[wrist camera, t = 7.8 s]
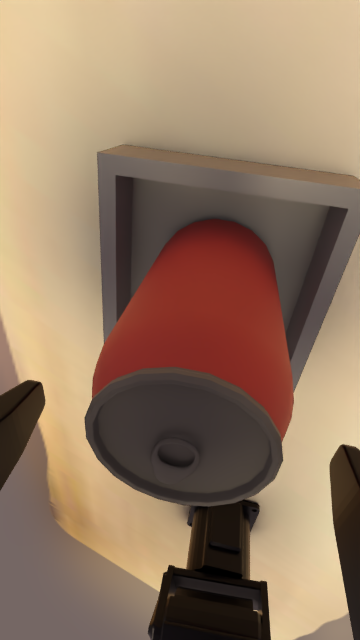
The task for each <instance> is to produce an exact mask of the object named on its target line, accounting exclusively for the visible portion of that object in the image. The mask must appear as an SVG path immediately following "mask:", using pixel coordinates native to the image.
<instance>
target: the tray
mask: <svg viewBox="0 0 360 640" xmlns="http://www.w3.org/2000/svg"><path fill="white" fill-rule="evenodd" d="M97 161H98V189H99V217H100V245H101V273H102V302H103V330H104V343H105V341H106V339H107V338H108V336H109V335H110V333H111V331H112V330H113V328H114V326H115V325H116V323H117V322H118V320H119V318H120V317H121V315H122V314H123V312H124V310H125V309H126V307H127V305H128V304H129V302H130V301H131V299H132V297H133V296H134V294H135V292H136V291H137V289H138V288H139V286H140V284H141V283H142V281H143V280H144V278H145V276H146V275H147V273H148V271H149V270H150V268H151V267H152V265H153V263H154V262H155V260H156V258H157V257H158V255H159V254H160V252H161V250H162V249H163V247H164V246H165V244H166V243H167V242H168V241H169V240H170V239H171V238H172V237H173V235H174V234H175V233H176V232H177V231H179V230H181V229H182V228H184V227H186V226H188V225H190V224H192V223H194V222H198V221H204V220H210V219H219V220H226V221H233V222H236V223H238V224H240V225H242V226H244V227H246V228H248V229H250V230H252V231H253V232H254V233H255V234H256V235H257V236H258V237H259V238H260V239H261V240H262V241H263V242H264V243H265V244H266V246H267V249H268V251H269V253H270V255H271V257H272V259H273V262H274V268H275V274H276V280H277V286H278V292H279V298H280V304H281V311H282V317H283V323H284V329H285V335H286V341H287V347H288V353H289V359H290V365H291V371H292V378H293V393H294V390H295V388H296V385H297V383H298V381H299V378H300V376H301V373H302V371H303V369H304V366H305V364H306V361H307V359H308V357H309V354H310V352H311V349H312V347H313V345H314V342H315V340H316V337H317V335H318V332H319V330H320V328H321V325H322V323H323V320H324V318H325V316H326V313H327V311H328V308H329V306H330V304H331V301H332V299H333V296H334V294H335V292H336V289H337V287H338V284H339V282H340V279H341V277H342V275H343V272H344V270H345V267H346V265H347V263H348V260H349V258H350V255H351V253H352V251H353V248H354V246H355V243H356V241H357V239H358V236H359V234H360V180H359V179H357V178H356V177H354V176H349V175H342V174H335V173H327V172H320V171H313V170H305V169H298V168H291V167H283V166H276V165H269V164H261V163H254V162H247V161H239V160H232V159H224V158H217V157H210V156H202V155H195V154H188V153H180V152H173V151H166V150H158V149H151V148H144V147H136V146H129V145H120V146H117V147H114V148H110V149H107V150H103V151H100V152H97Z"/></svg>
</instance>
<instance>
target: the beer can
mask: <svg viewBox="0 0 360 640" xmlns="http://www.w3.org/2000/svg"><path fill="white" fill-rule="evenodd" d="M293 404H294V397H293V378H292V371H291V365H290V359H289V353H288V347H287V341H286V335H285V329H284V323H283V317H282V311H281V304H280V298H279V292H278V286H277V280H276V274H275V268H274V262H273V259H272V257H271V255H270V253H269V251H268V249H267V246H266V244H265V243H264V242H263V241H262V240H261V239H260V238H259V237H258V236H257V235H256V234H255V233H254V232H253V231H252V230H250V229H248V228H246V227H244V226H242V225H240V224H238V223H236V222H233V221H226V220H219V219H210V220H204V221H198V222H194V223H192V224H190V225H188V226H186V227H184V228H182V229H181V230H179V231H177V232H176V233H175V234H174V235H173V237H172V238H171V239H170V240H169V241H168V242H167V243H166V244H165V246H164V247H163V249H162V250H161V252H160V254H159V255H158V257H157V258H156V260H155V262H154V263H153V265H152V267H151V268H150V270H149V271H148V273H147V275H146V276H145V278H144V280H143V281H142V283H141V284H140V286H139V288H138V289H137V291H136V292H135V294H134V296H133V297H132V299H131V301H130V302H129V304H128V305H127V307H126V309H125V310H124V312H123V314H122V315H121V317H120V318H119V320H118V322H117V323H116V325H115V326H114V328H113V330H112V331H111V333H110V335H109V336H108V338H107V339H106V341H105V343H104V346H103V348H102V351H101V354H100V356H99V359H98V361H97V364H96V368H95V372H94V376H93V386H92V401H91V404H90V406H89V408H88V411H87V413H86V416H85V429H86V438H87V440H88V442H89V444H90V446H91V448H92V450H93V451H94V453H95V455H96V457H97V459H98V460H99V461H100V462H101V463H102V464H103V465H104V466H105V467H106V468H107V469H108V470H109V471H110V472H111V473H112V474H113V475H114V476H115V477H116V478H118V479H119V480H121V481H123V482H124V483H126V484H127V485H129V486H130V487H132V488H133V489H135V490H137V491H140V492H142V493H145V494H147V495H149V496H152V497H154V498H157V499H160V500H164V501H168V502H173V503H177V504H181V505H192V506H209V507H210V506H217V505H224V504H232V503H236V502H238V501H241V500H243V499H246V498H248V497H251V496H254V495H256V494H257V493H259V492H260V491H261V490H262V489H263V488H265V487H266V486H267V485H268V484H269V483H271V482H272V481H273V480H274V479H275V477H276V475H277V473H278V471H279V468H280V466H281V464H282V462H283V454H282V441H283V438H284V436H285V434H286V431H287V428H288V426H289V423H290V421H291V417H292V410H293Z"/></svg>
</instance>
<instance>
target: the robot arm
mask: <svg viewBox="0 0 360 640" xmlns="http://www.w3.org/2000/svg"><path fill="white" fill-rule="evenodd" d="M44 406H45V395H44V390H43V385H42V383H41V382H38V381H34V380H27V381H25V382H23V383H21V384H19V385H18V386H16V387H14V388H12V389H11V390H9V391H7V392H5V393H4V394H2V395H0V490H1V489H2V487H3V485H4V483H5V482H6V480H7V479H8V477H9V475H10V474H11V472H12V470H13V469H14V467H15V465H16V464H17V462H18V460H19V458H20V457H21V455H22V453H23V451H24V449H25V447H26V445H27V443H28V441H29V439H30V437H31V434H32V432H33V430H34V428H35V426H36V424H37V421H38V419H39V417H40V415H41V413H42V411H43V409H44ZM330 483H331V498H332V512H333V524H334V530H335V536H336V542H337V547H338V553H339V559H340V564H341V570H342V576H343V581H344V587H345V593H346V598H347V604H348V610H349V615H350V621H351V627H352V632H353V638H354V640H360V450H359V449H358V448H356V447H354V446H349V445H344V444H342V445H340V446H339V448H338V450H337V451H336V453H335V454H334V456H333V458H332V459H331V462H330ZM258 514H259V505H257V504H254V503H250V502H246V501H238V502H236V503H232V504H224V505H217V506H210V507H209V506H192V505H191V508H190V512H189V517H188V522H187V524H188V525H189V526H191V527H192V531H191V538H190V545H189V553H188V560H187V568H186V569H182V568H176V567H175V566H172V565H169V566H168V570H167V572H165V573H163V579H162V584H161V589H160V594H159V597H158V601H157V604H156V607H155V610H154V613H153V616H152V619H151V621H150V625H149V630H148V634H149V636H150V639H151V640H271V636H270V621H269V606H268V591H267V582H266V581H260V582H259V581H253V580H250V531H251V529H252V527H253V524H254V522H255V520H256V518H257V516H258ZM253 610H258V612H257V611H253Z"/></svg>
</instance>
